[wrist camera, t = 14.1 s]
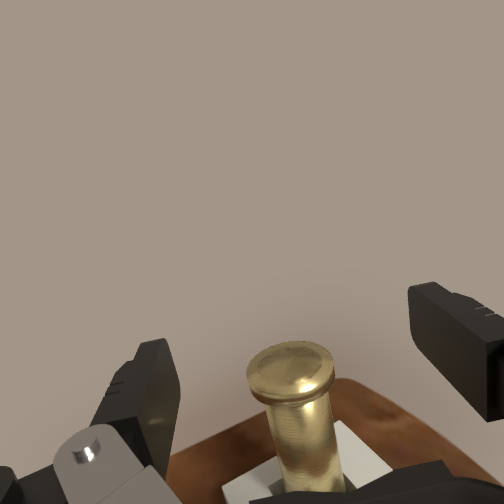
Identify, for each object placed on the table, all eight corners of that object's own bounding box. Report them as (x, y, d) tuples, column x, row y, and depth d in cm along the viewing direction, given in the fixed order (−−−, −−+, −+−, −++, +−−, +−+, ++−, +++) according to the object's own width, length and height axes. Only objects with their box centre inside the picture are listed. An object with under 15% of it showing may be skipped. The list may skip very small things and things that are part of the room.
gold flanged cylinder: (311, 580, 24) (270, 407, 21) (272, 511, 30) (233, 363, 26) (378, 532, 26) (351, 366, 23) (330, 474, 32) (302, 332, 28)
